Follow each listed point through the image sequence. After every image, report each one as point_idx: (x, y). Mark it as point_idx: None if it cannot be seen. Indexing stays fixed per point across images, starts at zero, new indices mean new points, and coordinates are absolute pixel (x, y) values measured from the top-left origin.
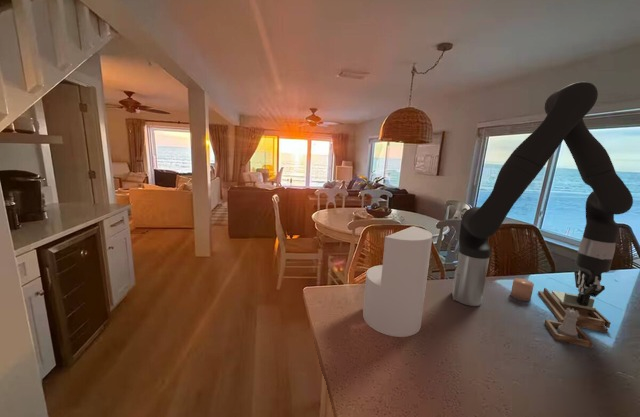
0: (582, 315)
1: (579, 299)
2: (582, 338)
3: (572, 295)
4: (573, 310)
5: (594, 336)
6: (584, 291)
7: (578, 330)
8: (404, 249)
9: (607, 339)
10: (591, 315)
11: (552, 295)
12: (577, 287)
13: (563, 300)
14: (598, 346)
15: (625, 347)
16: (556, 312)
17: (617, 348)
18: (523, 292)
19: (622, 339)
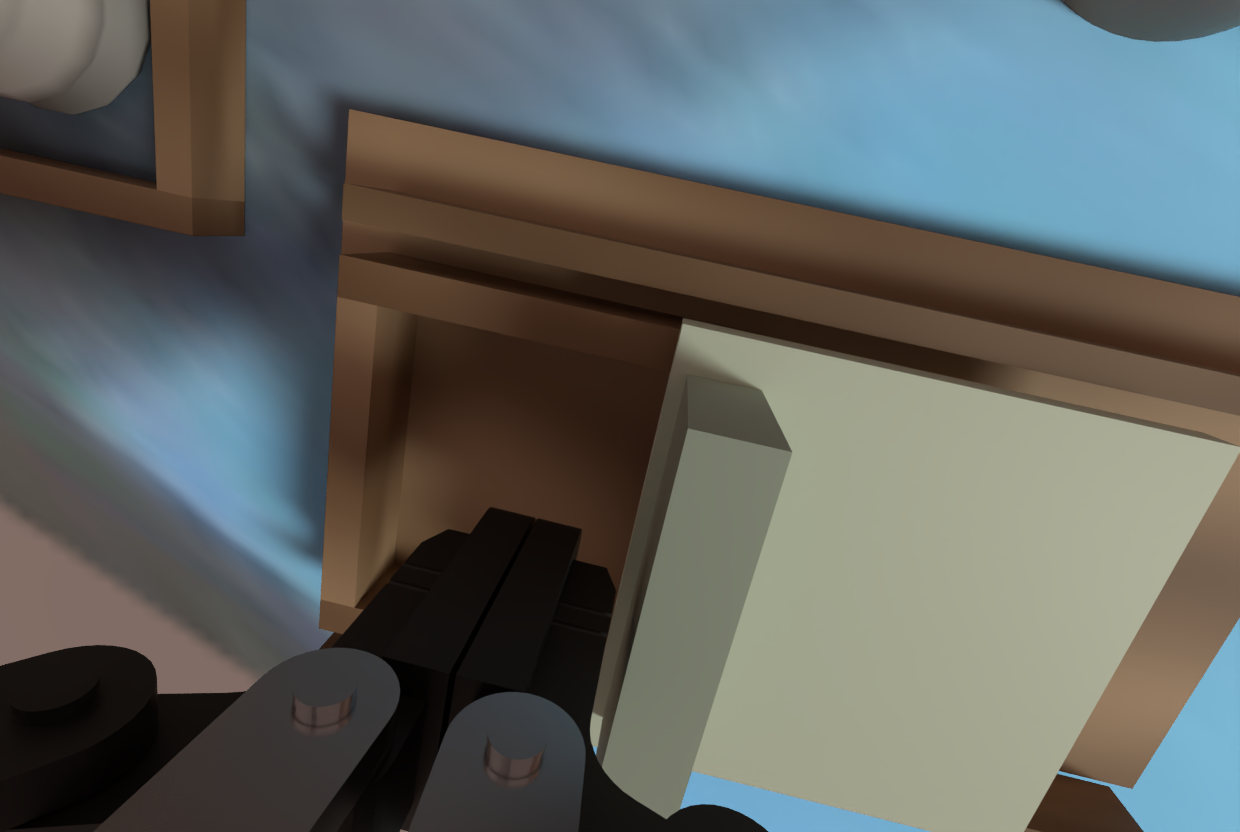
0: (581, 520)
1: (468, 558)
2: (33, 157)
3: (658, 539)
4: None
5: (209, 371)
6: (58, 754)
7: (116, 180)
8: None
9: (209, 473)
10: None
11: (1071, 376)
12: (658, 826)
13: (756, 389)
14: (5, 271)
15: (133, 543)
16: (556, 162)
17: (72, 452)
18: None
19: (279, 622)
